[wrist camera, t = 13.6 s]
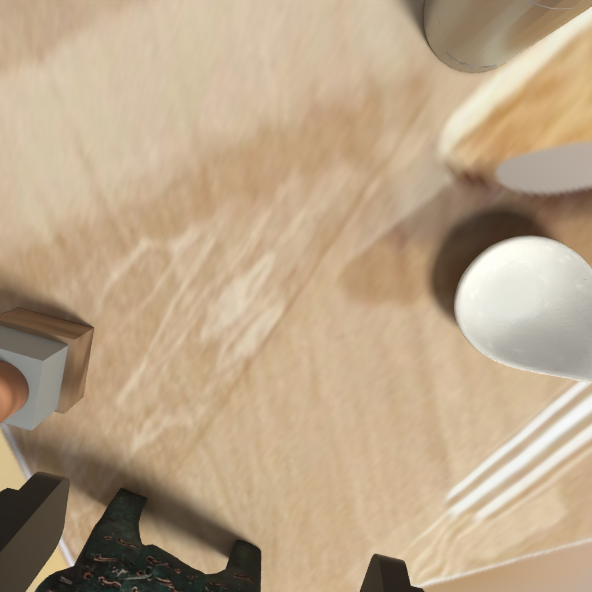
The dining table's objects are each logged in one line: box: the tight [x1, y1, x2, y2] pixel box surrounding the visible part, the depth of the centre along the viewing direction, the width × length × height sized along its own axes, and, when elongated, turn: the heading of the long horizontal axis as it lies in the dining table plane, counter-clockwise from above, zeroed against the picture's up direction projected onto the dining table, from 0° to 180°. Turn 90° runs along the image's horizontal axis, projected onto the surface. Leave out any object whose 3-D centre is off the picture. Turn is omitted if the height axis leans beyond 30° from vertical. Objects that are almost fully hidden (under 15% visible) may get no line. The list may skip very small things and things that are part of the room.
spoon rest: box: [454, 235, 592, 383], centre depth 40 cm, size 24×12×7 cm, turn 60°
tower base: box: [0, 308, 94, 414], centre depth 45 cm, size 8×8×4 cm
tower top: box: [0, 325, 68, 431], centre depth 41 cm, size 7×7×4 cm
